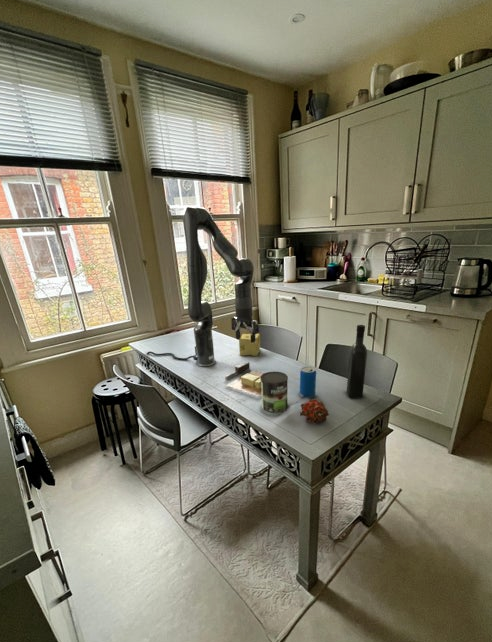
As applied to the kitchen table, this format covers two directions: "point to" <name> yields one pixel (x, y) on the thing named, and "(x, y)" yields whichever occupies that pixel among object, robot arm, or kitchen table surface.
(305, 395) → the beverage can
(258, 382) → the butter slice
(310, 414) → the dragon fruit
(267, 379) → the coffee can
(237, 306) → the robot arm
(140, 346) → the kitchen table surface
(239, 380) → the board
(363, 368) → the wine bottle
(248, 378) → the butter
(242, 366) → the knife
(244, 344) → the cheese
